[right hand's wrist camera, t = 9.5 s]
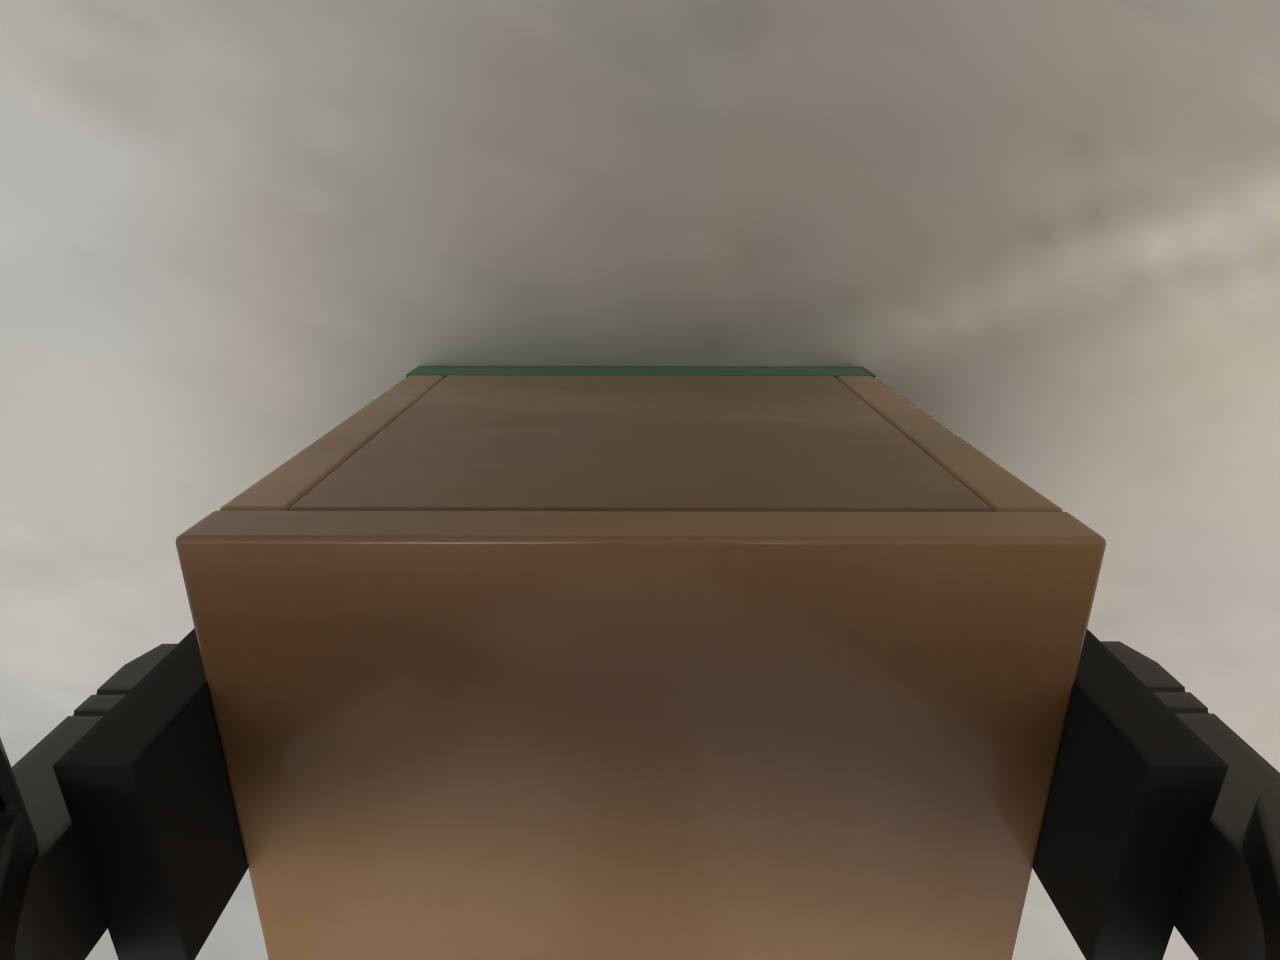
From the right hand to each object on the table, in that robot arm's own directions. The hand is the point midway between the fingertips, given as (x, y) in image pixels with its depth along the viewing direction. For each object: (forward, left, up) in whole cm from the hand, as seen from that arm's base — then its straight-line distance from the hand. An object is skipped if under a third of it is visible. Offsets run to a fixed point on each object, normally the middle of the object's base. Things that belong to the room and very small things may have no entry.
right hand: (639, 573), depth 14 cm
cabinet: (+5, +5, -4) cm, 8 cm away
